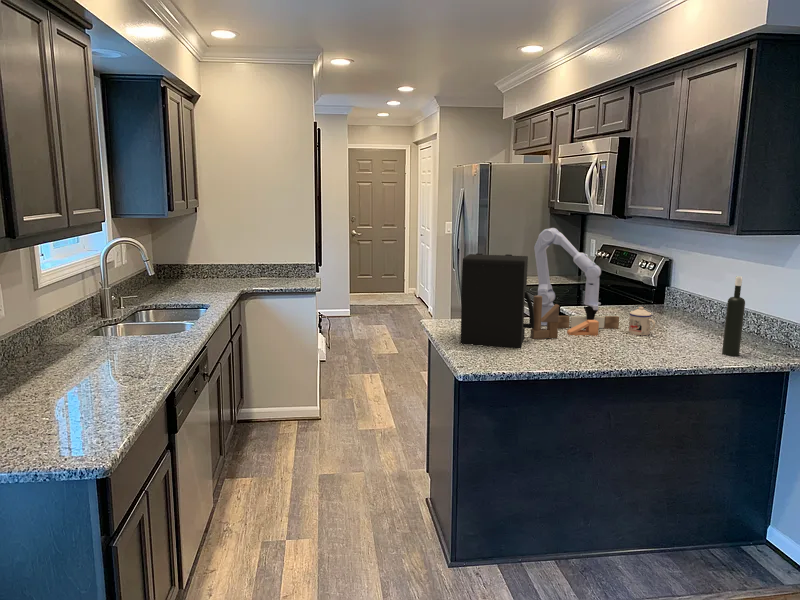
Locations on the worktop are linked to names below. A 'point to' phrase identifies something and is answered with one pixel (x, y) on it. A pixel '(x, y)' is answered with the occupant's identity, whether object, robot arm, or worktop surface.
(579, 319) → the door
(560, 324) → the brown rectangular block
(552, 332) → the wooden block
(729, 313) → the wine bottle
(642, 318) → the teacup with lid
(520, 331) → the black upright box
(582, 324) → the wedge
